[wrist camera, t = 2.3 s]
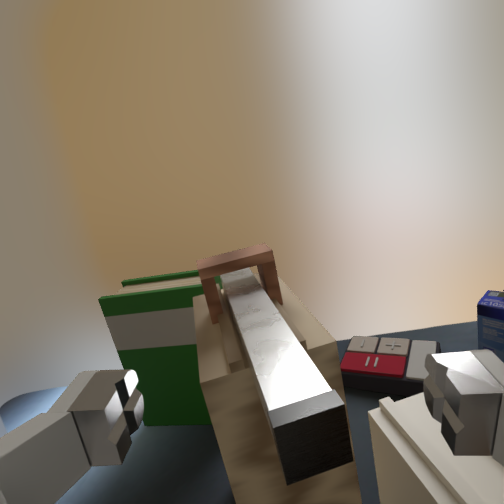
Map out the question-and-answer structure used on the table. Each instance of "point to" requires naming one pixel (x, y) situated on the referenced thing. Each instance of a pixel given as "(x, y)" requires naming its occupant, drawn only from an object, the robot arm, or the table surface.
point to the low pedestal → (426, 460)
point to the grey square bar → (287, 384)
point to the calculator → (386, 364)
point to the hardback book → (160, 344)
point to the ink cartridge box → (491, 323)
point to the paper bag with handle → (246, 395)
